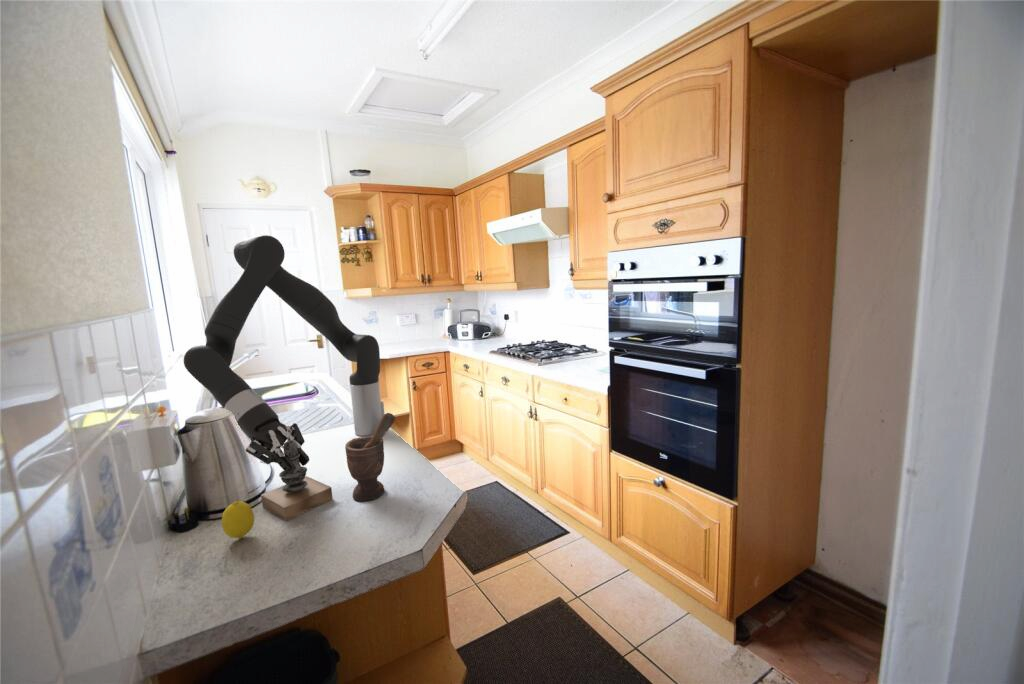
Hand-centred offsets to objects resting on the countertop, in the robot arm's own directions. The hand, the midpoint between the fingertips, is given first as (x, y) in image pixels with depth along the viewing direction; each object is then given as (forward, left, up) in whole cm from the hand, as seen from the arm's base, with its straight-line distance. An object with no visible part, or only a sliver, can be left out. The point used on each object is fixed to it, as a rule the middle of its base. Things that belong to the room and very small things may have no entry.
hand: (299, 466), depth 101 cm
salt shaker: (+1, -2, -5) cm, 6 cm away
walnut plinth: (+1, -2, -9) cm, 9 cm away
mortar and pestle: (-12, +10, -9) cm, 19 cm away
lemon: (+15, +2, -9) cm, 18 cm away
